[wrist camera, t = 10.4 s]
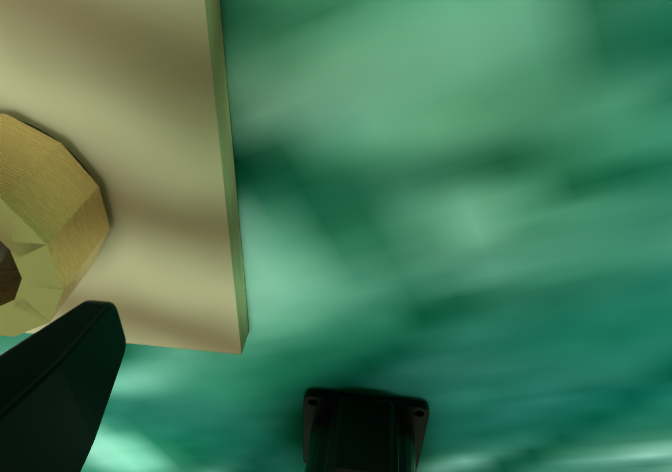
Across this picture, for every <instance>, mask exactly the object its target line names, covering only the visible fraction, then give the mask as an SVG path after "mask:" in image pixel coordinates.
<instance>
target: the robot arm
mask: <svg viewBox="0 0 672 472" xmlns="http://www.w3.org/2000/svg"><path fill="white" fill-rule="evenodd" d="M125 348H126V338H125V334H124V330H123V327H122V324H121V320H120V317H119V313H118V310H117V307H116V306H115V304H114V303H112V302H108V301H97V300H87V301H84V302H82V303H81V304H79V305H78V306H76V307H74V308H73V309H71V310H70V311H68V312H67V313H65V314H64V315H62V316H60V317H59V318H57V319H56V320H54V321H53V322H51V323H50V324H48V325H47V326H45V327H43V328H42V329H40V330H39V331H37V332H36V333H34V334H33V335H31V336H30V337H28V338H26V339H25V340H23V341H22V342H20V343H19V344H17V345H16V346H14V347H13V348H11V349H9V350H8V351H6V352H5V353H3V354H2V355H0V472H80V471H81V469H82V467H83V465H84V463H85V461H86V458H87V456H88V454H89V452H90V449H91V447H92V445H93V442H94V440H95V437H96V434H97V432H98V429H99V426H100V423H101V420H102V417H103V414H104V411H105V409H106V406H107V403H108V400H109V397H110V394H111V391H112V388H113V385H114V382H115V379H116V376H117V373H118V370H119V368H120V365H121V362H122V359H123V356H124V353H125ZM428 417H429V406H428V404H427V403H425V402H422V401H414V400H405V399H395V398H385V397H376V396H366V395H357V394H347V393H338V392H328V391H318V390H309V391H307V392H306V393H305V395H304V401H303V460H304V462H305V463H306V467H305V472H416V469H417V465H418V461H419V456H420V452H421V448H422V443H423V439H424V435H425V430H426V426H427V422H428Z"/></svg>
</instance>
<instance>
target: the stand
mask: <svg viewBox="0 0 672 472" xmlns="http://www.w3.org/2000/svg"><path fill="white" fill-rule="evenodd" d="M0 114H8V115H10V116H11V117H13V118H15V119H17V120H19V121H21V122H23V123H25V124H26V125H28V126H30V127H32V128H34V129H36V130H38V131H40V132H41V133H43V134H45V135H47V136H49V137H51V138H53V139H55V140H56V141H58V142H60V143H62V145H63V146H64V147H65V148H66V149H67V150H68V151H69V153H70V154H71V155H72V156H73V157H74V158H75V159H76V161H77V162H78V163H79V164H80V165H81V166H82V167H83V169H84V170H85V171H86V172H87V173H88V174H89V175H90V177H91V178H92V179H93V180H94V181H95V182H96V183H97V185H98V186H99V189H100V193H101V196H102V200H103V204H104V207H105V211H106V215H107V219H108V222H109V226H110V230H109V232H108V234H107V237H106V239H105V241H104V243H103V245H102V248H101V250H100V252H99V254H98V257H97V259H96V261H95V262H94V263H93V265H92V266H91V267H90V269H89V270H88V271H87V273H86V274H85V275H84V277H83V278H82V280H81V281H80V282H79V284H78V285H77V286H76V288H75V289H74V290H73V292H72V293H71V295H70V296H69V297H68V299H67V300H66V301H65V303H64V304H63V305H62V307H61V308H60V309H59V311H58V312H57V314H56V315H55V316H54V318H53V319H52V320H51V322H53V321H54V320H56V319H57V318H59V317H60V316H62V315H64V314H65V313H67V312H68V311H70V310H71V309H73V308H74V307H76V306H78V305H79V304H81V303H82V302H84V301H87V300H97V301H108V302H112V303H114V304H115V306H116V307H117V310H118V313H119V317H120V320H121V324H122V327H123V330H124V334H125V338H126V343H133V344H143V345H152V346H162V347H172V348H182V349H192V350H202V351H212V352H222V353H231V354H242V351H243V348H244V345H245V342H246V338H247V335H248V332H249V326H248V315H247V303H246V292H245V281H244V269H243V258H242V247H241V235H240V224H239V213H238V201H237V190H236V179H235V167H234V156H233V145H232V133H231V122H230V111H229V99H228V88H227V76H226V65H225V54H224V42H223V31H222V20H221V8H220V0H0ZM10 252H11V251H10V249H9V248H8V247H6V246H5V245H4V244H3V243H2V242H1V241H0V263H1V262H2V261H3V260H4V259H5V257H6V256H7V255H8V254H9V253H10ZM51 322H50V323H51ZM50 323H47V324H45V325H42V326H39V327H37V328H34V329H32V330H29V331H27V332H24V333H36V332H37V331H39V330H40V329H42V328H43V327H45V326H47V325H48V324H50Z"/></svg>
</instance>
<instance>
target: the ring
mask: <svg viewBox="0 0 672 472" xmlns="http://www.w3.org/2000/svg"><path fill="white" fill-rule="evenodd" d="M109 230H110V226H109V222H108V219H107V215H106V211H105V207H104V204H103V200H102V196H101V193H100V189H99V186H98V185H97V183H96V182H95V181H94V180H93V179H92V178H91V177H90V175H89V174H88V173H87V172H86V171H85V170H84V169H83V167H82V166H81V165H80V164H79V163H78V162H77V161H76V159H75V158H74V157H73V156H72V155H71V154H70V153H69V151H68V150H67V149H66V148H65V147H64V146H63V145H62V143H60V142H58V141H56V140H55V139H53V138H51V137H49V136H47V135H45V134H43V133H41V132H40V131H38V130H36V129H34V128H32V127H30V126H28V125H26V124H25V123H23V122H21V121H19V120H17V119H15V118H13V117H11V116H10V115H8V114H0V241H1V242H2V243H3V244H4V245H5V246H6V247H8V248H9V249H10V251H11V252H10V253H9V254H8V255H7V256H6V257H5V259H4V260H3V261H2V262H1V263H0V335H3V336H13V337H14V336H17V335H19V334H22V333H24V332H27V331H29V330H32V329H34V328H37V327H39V326H42V325H45V324H47V323H50V322H51V320H52V319H53V318H54V316H55V315H56V314H57V312H58V311H59V309H60V308H61V307H62V305H63V304H64V303H65V301H66V300H67V299H68V297H69V296H70V295H71V293H72V292H73V290H74V289H75V288H76V286H77V285H78V284H79V282H80V281H81V280H82V278H83V277H84V275H85V274H86V273H87V271H88V270H89V269H90V267H91V266H92V265H93V263H94V262H95V261H96V259H97V257H98V254H99V252H100V250H101V248H102V245H103V243H104V241H105V239H106V237H107V234H108V232H109Z"/></svg>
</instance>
